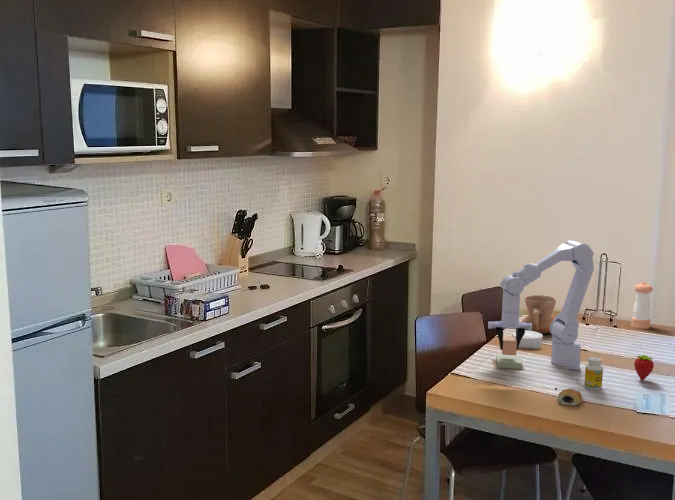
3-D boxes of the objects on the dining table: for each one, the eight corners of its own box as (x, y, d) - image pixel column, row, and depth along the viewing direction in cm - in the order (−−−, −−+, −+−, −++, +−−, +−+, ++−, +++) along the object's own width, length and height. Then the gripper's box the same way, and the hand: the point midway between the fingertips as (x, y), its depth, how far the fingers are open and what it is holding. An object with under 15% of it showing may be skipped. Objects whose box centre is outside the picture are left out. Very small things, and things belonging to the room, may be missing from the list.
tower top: (519, 361, 244) (519, 355, 244) (521, 368, 237) (522, 363, 236) (496, 359, 246) (496, 354, 245) (497, 367, 238) (498, 362, 237)
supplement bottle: (591, 383, 227) (593, 355, 226) (605, 388, 223) (607, 359, 221) (580, 386, 224) (582, 357, 223) (594, 391, 220) (596, 362, 218)
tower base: (520, 366, 246) (520, 360, 245) (524, 375, 236) (524, 370, 235) (491, 364, 247) (491, 359, 246) (494, 374, 237) (494, 368, 237)
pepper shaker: (629, 323, 298) (632, 280, 294) (646, 324, 297) (650, 280, 293) (633, 328, 290) (637, 283, 287) (652, 329, 290) (655, 284, 286)
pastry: (563, 393, 218) (564, 382, 218) (585, 398, 215) (586, 386, 214) (556, 403, 210) (557, 391, 210) (579, 408, 207) (580, 396, 206)
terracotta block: (514, 351, 242) (515, 337, 241) (516, 355, 238) (516, 341, 237) (501, 350, 243) (501, 336, 242) (502, 354, 238) (503, 340, 237)
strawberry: (651, 377, 233) (653, 348, 231) (653, 385, 226) (656, 355, 224) (632, 375, 235) (634, 346, 233) (633, 382, 228) (636, 353, 226)
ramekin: (509, 350, 261) (510, 336, 260) (513, 341, 272) (514, 328, 271) (540, 353, 257) (541, 339, 256) (543, 345, 267) (544, 332, 267)
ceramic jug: (526, 323, 297) (528, 291, 294) (561, 328, 289) (563, 295, 287) (515, 335, 281) (516, 301, 279) (551, 340, 274) (553, 305, 271)
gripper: (490, 312, 235) (488, 351, 237) (534, 314, 233) (532, 353, 235) (488, 307, 241) (486, 345, 244) (531, 309, 240) (529, 347, 242)
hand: (508, 348), depth 240 cm, fingers closed on terracotta block, 4 cm apart
